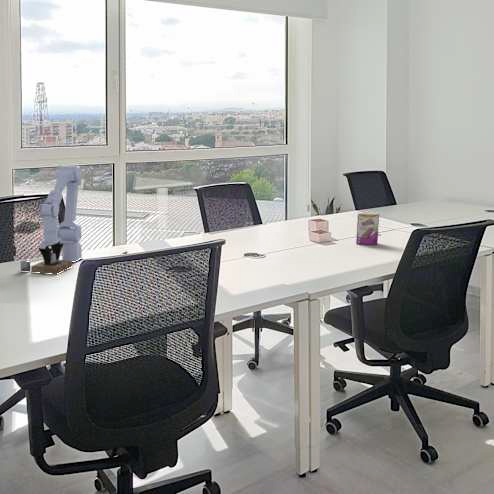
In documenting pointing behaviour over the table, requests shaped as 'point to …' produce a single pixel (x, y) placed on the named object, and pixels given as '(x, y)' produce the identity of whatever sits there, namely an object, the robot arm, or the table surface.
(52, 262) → the tall pin
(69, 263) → the wooden square frame
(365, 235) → the candy bar box
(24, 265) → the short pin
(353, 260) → the table surface
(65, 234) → the robot arm
